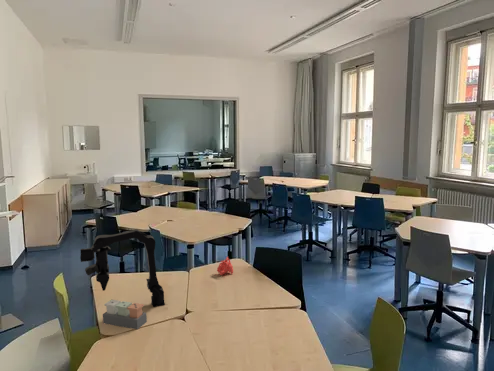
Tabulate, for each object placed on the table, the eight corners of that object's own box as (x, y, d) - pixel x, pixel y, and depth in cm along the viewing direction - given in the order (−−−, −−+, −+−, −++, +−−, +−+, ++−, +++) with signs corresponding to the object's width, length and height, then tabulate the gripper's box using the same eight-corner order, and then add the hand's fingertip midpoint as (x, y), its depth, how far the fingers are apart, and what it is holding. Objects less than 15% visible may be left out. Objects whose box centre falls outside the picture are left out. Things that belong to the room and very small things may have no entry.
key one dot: (112, 312, 198) (111, 299, 197) (121, 313, 196) (120, 300, 195) (105, 316, 193) (104, 303, 192) (114, 318, 191) (113, 305, 190)
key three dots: (135, 315, 193) (134, 302, 193) (144, 317, 192) (143, 304, 191) (128, 320, 188) (127, 307, 187) (137, 322, 186) (136, 308, 185)
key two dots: (123, 313, 196) (122, 300, 195) (132, 315, 194) (131, 302, 193) (116, 318, 190) (115, 305, 190) (125, 320, 189) (125, 307, 188)
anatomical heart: (216, 277, 256) (213, 260, 256) (228, 272, 265) (225, 256, 265) (225, 277, 250) (222, 260, 250) (237, 272, 259) (234, 255, 260)
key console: (113, 316, 200) (112, 307, 199) (146, 321, 193) (146, 312, 192) (103, 323, 192) (102, 314, 192) (137, 329, 186) (136, 319, 185)
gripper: (86, 256, 206) (88, 283, 208) (84, 266, 188) (86, 296, 190) (107, 253, 209) (109, 280, 211) (108, 263, 192) (110, 292, 194)
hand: (103, 287), depth 202 cm, fingers open, 9 cm apart
